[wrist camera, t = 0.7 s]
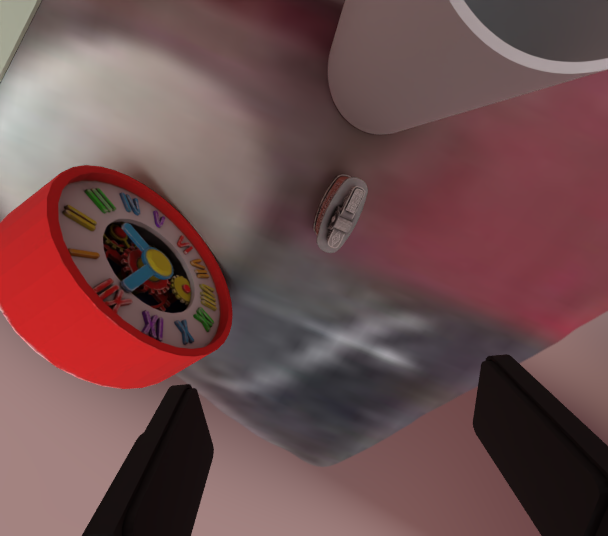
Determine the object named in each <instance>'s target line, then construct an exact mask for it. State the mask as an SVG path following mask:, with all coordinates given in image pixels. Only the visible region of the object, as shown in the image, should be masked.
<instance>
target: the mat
mask: <svg viewBox="0 0 608 536" xmlns="http://www.w3.org/2000/svg"><path fill="white" fill-rule="evenodd" d="M41 1H42V0H0V82H1V80H2V78H3V76H4V74H5V72H6V70H7V68H8V66H9V64H10V62H11V61H12V59H13V57H14V55H15V53H16V51H17V49H18V47H19V45H20V43H21V41H22V39H23V37H24V35H25V33H26V31H27V29H28V27H29V25H30V23H31V21H32V19H33V17H34V15H35V13H36V11H37V9H38V7H39V5H40V3H41Z"/></svg>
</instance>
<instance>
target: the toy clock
mask: <svg viewBox="0 0 608 536" xmlns="http://www.w3.org/2000/svg"><path fill="white" fill-rule="evenodd" d="M0 310H1V312H2V313H3V314H4V316H5V317H6V319H7V321H8V322H9V323H10V325H11V326H12V328H13V329H14V331H15V332H16V333H17V334H18V335H19V336H20V337H21V338H22V339H23V340H24V341H25V342H26V343H27V344H28V345H29V346H30V347H31V348H32V349H33V350H34V351H35V352H36V353H38V354H39V355H41V356H42V357H43V358H45V359H46V360H47V361H49V362H50V363H52V364H53V365H54V366H56V367H57V368H59V369H61V370H63V371H65V372H67V373H69V374H71V375H73V376H75V377H77V378H79V379H82V380H85V381H88V382H91V383H94V384H98V385H101V386H106V387H113V388H120V389H130V388H143V387H147V386H150V385H154V384H158V383H159V382H161V381H163V380H165V379H167V378H169V377H171V376H172V375H174V374H176V373H178V372H179V371H181V370H183V369H184V368H186V367H188V366H190V365H191V364H193V363H195V362H196V361H198V360H200V359H202V358H203V357H205V356H207V355H208V354H210V353H212V352H213V351H215V350H217V349H218V348H219V347H220V346H221V345H222V344H223V343H224V342H225V340H226V338H227V337H228V335H229V332H230V329H231V325H232V303H231V298H230V294H229V290H228V287H227V284H226V281H225V278H224V276H223V274H222V271H221V269H220V267H219V265H218V263H217V262H216V260H215V258H214V256H213V255H212V253H211V251H210V250H209V248H208V247H207V245H206V244H205V242H204V241H203V240H202V238H201V237H200V235H199V234H198V233H197V232H196V230H195V229H194V228H193V227H192V226H191V224H190V223H189V222H188V221H187V220H186V219H185V218H184V217H183V216H182V215H181V214H180V213H179V212H178V211H177V210H176V209H175V208H174V207H173V206H172V205H170V204H169V203H168V202H167V201H166V200H165V199H163V198H162V197H161V196H160V195H158V194H157V193H156V192H154V191H153V190H151V189H150V188H148V187H147V186H145V185H144V184H142V183H140V182H139V181H137V180H135V179H133V178H131V177H129V176H127V175H125V174H122V173H120V172H117V171H115V170H111V169H108V168H104V167H100V166H89V165H84V166H77V167H72V168H70V169H68V170H66V171H64V172H62V173H60V174H59V175H58V176H56V177H55V178H54V179H52V180H51V181H50V182H49V183H47V184H46V185H45V186H44V187H42V188H41V189H40V190H39V191H37V192H36V193H35V194H33V195H32V196H31V197H30V198H28V199H27V200H26V201H25V202H23V203H22V204H21V205H20V206H18V207H17V208H16V209H14V210H13V211H12V212H11V213H9V214H8V215H7V216H6V217H5V218H4V219H3V220H2V221H1V222H0Z"/></svg>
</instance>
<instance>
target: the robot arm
mask: <svg viewBox="0 0 608 536" xmlns="http://www.w3.org/2000/svg"><path fill="white" fill-rule="evenodd" d="M473 427H474V430H475V433H476V435H477V436H478V438H479V439H480V441H481V442H482V444H483V445H484V447H485V449H486V450H487V452H488V453H489V455H490V456H491V458H492V459H493V461H494V463H495V464H496V466H497V467H498V468H499V470H500V472H501V473H502V475H503V476H504V478H505V480H506V481H507V483H508V484H509V486H510V487H511V489H512V490H513V492H514V493H515V495H516V497H517V498H518V500H519V501H520V503H521V504H522V506H523V507H524V509H525V511H526V512H527V514H528V515H529V517H530V518H531V520H532V521H533V523H534V525H535V526H536V528H537V529H538V531H539V532H540V534H541V535H542V536H608V446H607V445H606V444H605V443H604V442H603V441H602V440H601V439H599V437H597V436H596V435H595V434H594V433H593V432H592V431H591V430H590V429H589V428H588V427H587V426H586V425H584V424H583V423H582V422H581V421H580V420H579V419H578V418H577V417H576V416H575V415H574V414H573V413H572V412H571V411H569V410H568V409H567V408H566V407H565V406H564V405H563V404H562V403H561V402H560V401H559V400H558V399H557V398H555V397H554V396H553V395H552V394H551V393H550V392H549V391H548V390H547V389H546V388H545V387H544V386H542V385H541V384H540V383H539V382H538V381H537V380H536V379H535V378H534V377H533V376H532V375H531V374H530V373H529V372H527V371H526V370H525V369H524V368H523V367H522V366H521V365H520V364H519V363H518V362H517V361H516V360H515V359H513V358H512V357H511V356H510V355H507V354H506V355H496V356H488V357H487V358H486V361H484V362H482V364H481V370H480V377H479V384H478V390H477V398H476V404H475V411H474V418H473ZM213 451H214V449H213V443H212V440H211V436H210V433H209V430H208V426H207V423H206V419H205V416H204V413H203V409H202V406H201V402H200V399H199V395H198V392H197V390H196V389H195V388H193V389H192V387H191V385H190V384H186V385H176V386H171V387H170V388H169V389H168V391H167V393H166V394H165V396H164V398H163V400H162V401H161V403H160V405H159V407H158V409H157V410H156V412H155V414H154V416H153V418H152V419H151V421H150V423H149V425H148V426H147V428H146V430H145V432H144V433H143V434H141V435H140V436H139V437H138V439H137V440H136V442H135V444H134V445H133V447H132V449H131V451H130V452H129V454H128V456H127V458H126V459H125V461H124V463H123V465H122V466H121V468H120V470H119V472H118V473H117V475H116V477H115V479H114V480H113V482H112V484H111V486H110V487H109V489H108V491H107V492H106V494H105V496H104V498H103V500H102V501H101V503H100V505H99V506H98V508H97V510H96V512H95V513H94V515H93V517H92V519H91V521H90V522H89V524H88V526H87V527H86V529H85V531H84V533H83V534H82V536H191V533H192V529H193V526H194V523H195V519H196V515H197V512H198V508H199V505H200V501H201V498H202V494H203V491H204V487H205V483H206V480H207V476H208V473H209V470H210V466H211V463H212V459H213V453H214V452H213Z"/></svg>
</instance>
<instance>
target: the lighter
mask: <svg viewBox="0 0 608 536" xmlns="http://www.w3.org/2000/svg"><path fill="white" fill-rule="evenodd" d="M367 192H368V188H367V185H366V184H365V182H364V181H363V180H361V179H359V178H356V177H350V176H348V175H344V174H341V175H338V176H336V177H335V178H334V180H333V181H332V183H331V184H330V186H329V187H328V189H327V190H326V192H325V194H324V196H323V198H322V200H321V202H320V204H319V207H318V210H317V212H316V216H315V220H314V224H313V228H314V231H315V233H316V234H317V244H318V247H319V248H320V249H321V250H322V251H324V252H327V253H334V252H336V251H338V250H339V249H340V248H341V246H342V245H343V244H344V242H345V241H346V240H347V238H348V237H349V235H350V234H351V232H352V230H353V229H354V227H355V225H356V224H357V221H358V219H359V216H360V214H361V212H362V209H363V206H364V203H365V200H366V196H367Z"/></svg>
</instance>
